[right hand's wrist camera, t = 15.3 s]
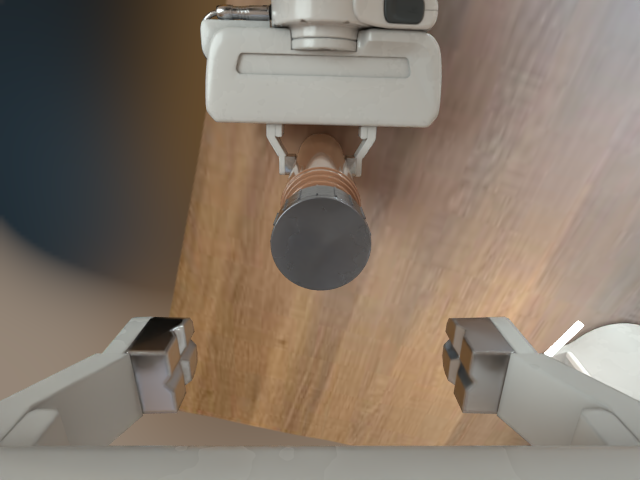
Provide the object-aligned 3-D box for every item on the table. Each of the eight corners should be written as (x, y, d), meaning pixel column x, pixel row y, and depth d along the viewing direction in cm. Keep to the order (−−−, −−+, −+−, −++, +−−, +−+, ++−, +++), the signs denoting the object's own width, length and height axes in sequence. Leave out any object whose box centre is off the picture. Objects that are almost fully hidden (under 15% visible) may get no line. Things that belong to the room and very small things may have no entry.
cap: (377, 194, 18) (384, 207, 16) (354, 277, 20) (358, 299, 18) (283, 175, 18) (278, 186, 16) (269, 261, 19) (262, 282, 17)
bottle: (347, 138, 40) (386, 202, 16) (337, 181, 42) (359, 297, 18) (302, 129, 40) (276, 180, 16) (294, 173, 41) (260, 279, 18)
